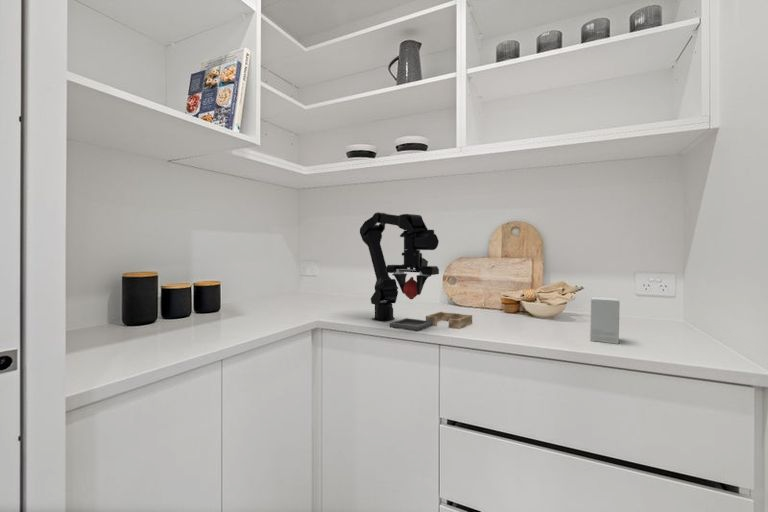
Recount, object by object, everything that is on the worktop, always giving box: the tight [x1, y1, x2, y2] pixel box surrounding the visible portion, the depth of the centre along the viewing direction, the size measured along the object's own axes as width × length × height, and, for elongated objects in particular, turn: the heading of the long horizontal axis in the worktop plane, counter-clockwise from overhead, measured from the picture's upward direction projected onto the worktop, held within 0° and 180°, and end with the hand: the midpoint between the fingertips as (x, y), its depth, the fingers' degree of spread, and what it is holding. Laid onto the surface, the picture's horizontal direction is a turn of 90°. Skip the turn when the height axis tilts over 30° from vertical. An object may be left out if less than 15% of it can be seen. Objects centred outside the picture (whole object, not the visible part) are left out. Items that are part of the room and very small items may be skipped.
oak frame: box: [425, 311, 473, 330], centre depth 134 cm, size 13×12×3 cm
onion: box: [403, 276, 419, 300], centre depth 129 cm, size 6×6×8 cm
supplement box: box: [589, 296, 620, 345], centre depth 110 cm, size 7×7×13 cm
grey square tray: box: [389, 317, 434, 332], centre depth 129 cm, size 11×11×2 cm
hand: (411, 294), depth 129 cm, fingers closed on onion, 6 cm apart
